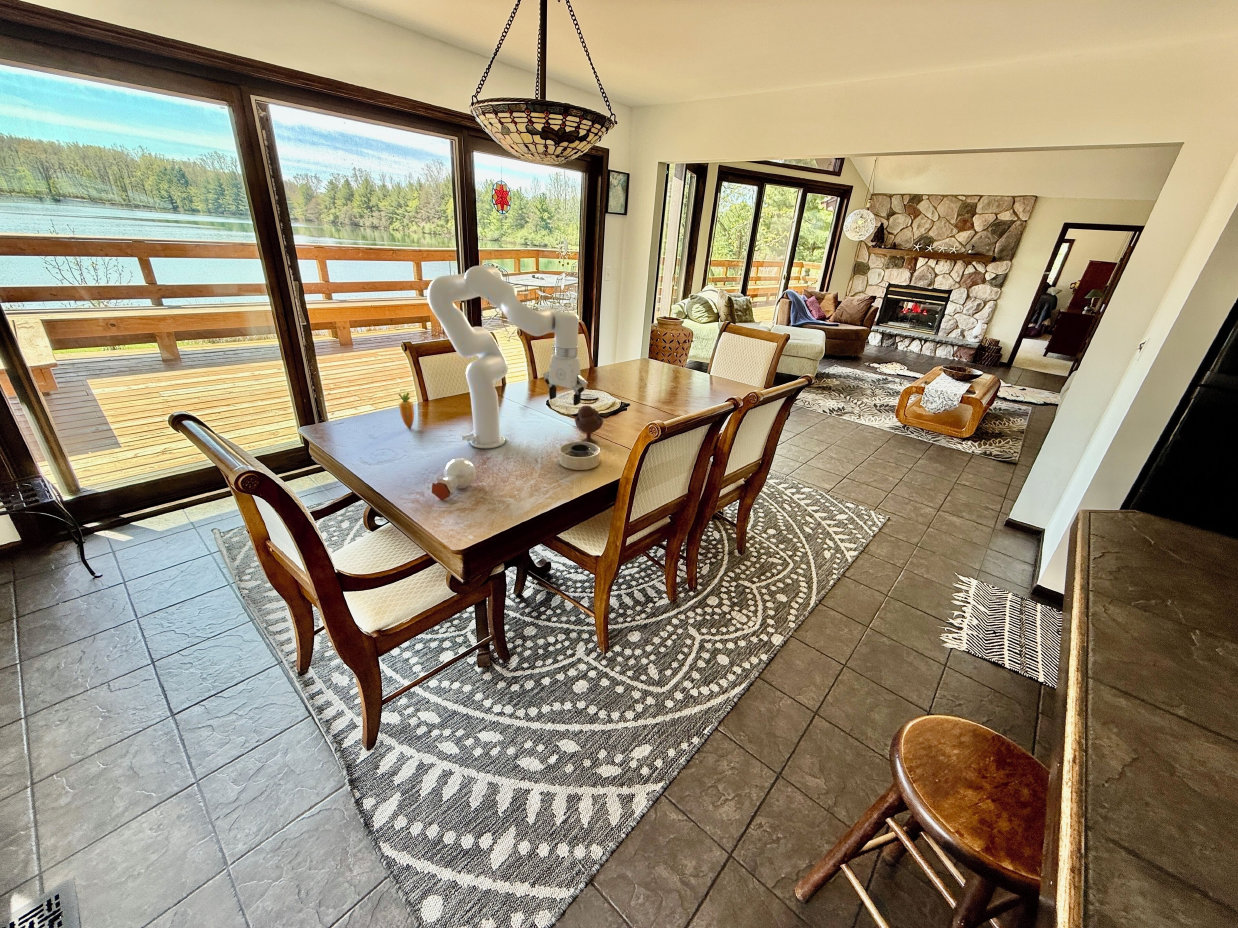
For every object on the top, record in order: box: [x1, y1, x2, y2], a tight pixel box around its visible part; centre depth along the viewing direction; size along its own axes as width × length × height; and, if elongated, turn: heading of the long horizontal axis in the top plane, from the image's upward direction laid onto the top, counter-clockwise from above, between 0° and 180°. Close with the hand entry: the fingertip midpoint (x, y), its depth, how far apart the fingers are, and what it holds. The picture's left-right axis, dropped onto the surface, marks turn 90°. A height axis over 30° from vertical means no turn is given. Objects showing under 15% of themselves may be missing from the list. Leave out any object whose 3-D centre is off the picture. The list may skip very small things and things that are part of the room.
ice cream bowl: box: [574, 404, 604, 445], centre depth 183 cm, size 11×11×15 cm
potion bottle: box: [431, 457, 477, 501], centre depth 145 cm, size 9×10×15 cm
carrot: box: [397, 391, 415, 430], centre depth 186 cm, size 5×5×15 cm
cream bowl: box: [558, 440, 601, 471], centre depth 168 cm, size 14×14×5 cm
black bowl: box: [570, 444, 590, 457], centre depth 168 cm, size 7×7×5 cm
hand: (564, 401), depth 165 cm, fingers open, 9 cm apart
